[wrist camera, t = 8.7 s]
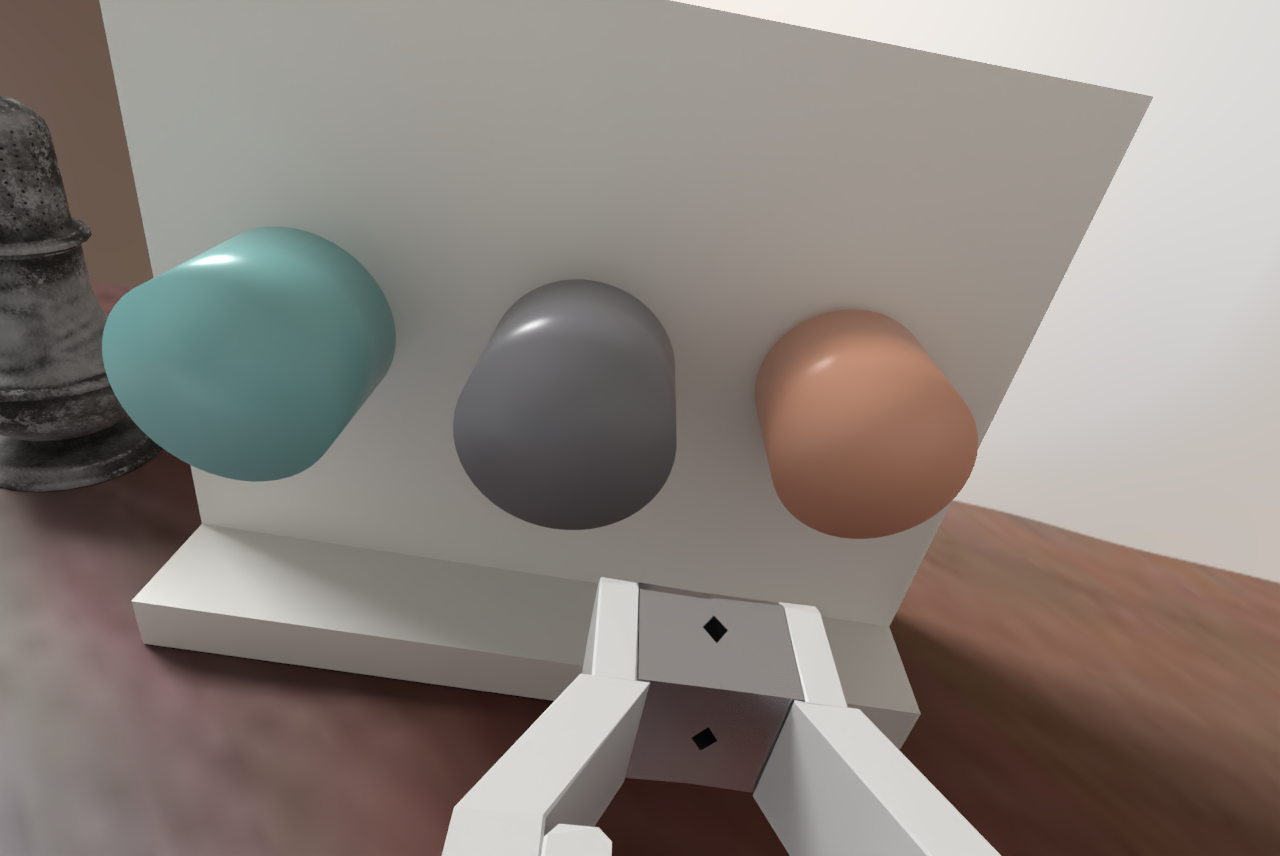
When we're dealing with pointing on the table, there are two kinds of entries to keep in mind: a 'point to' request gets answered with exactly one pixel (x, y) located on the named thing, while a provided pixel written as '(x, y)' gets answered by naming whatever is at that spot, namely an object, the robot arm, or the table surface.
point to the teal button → (251, 353)
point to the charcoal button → (571, 408)
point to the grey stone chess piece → (51, 330)
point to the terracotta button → (861, 426)
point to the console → (590, 250)
